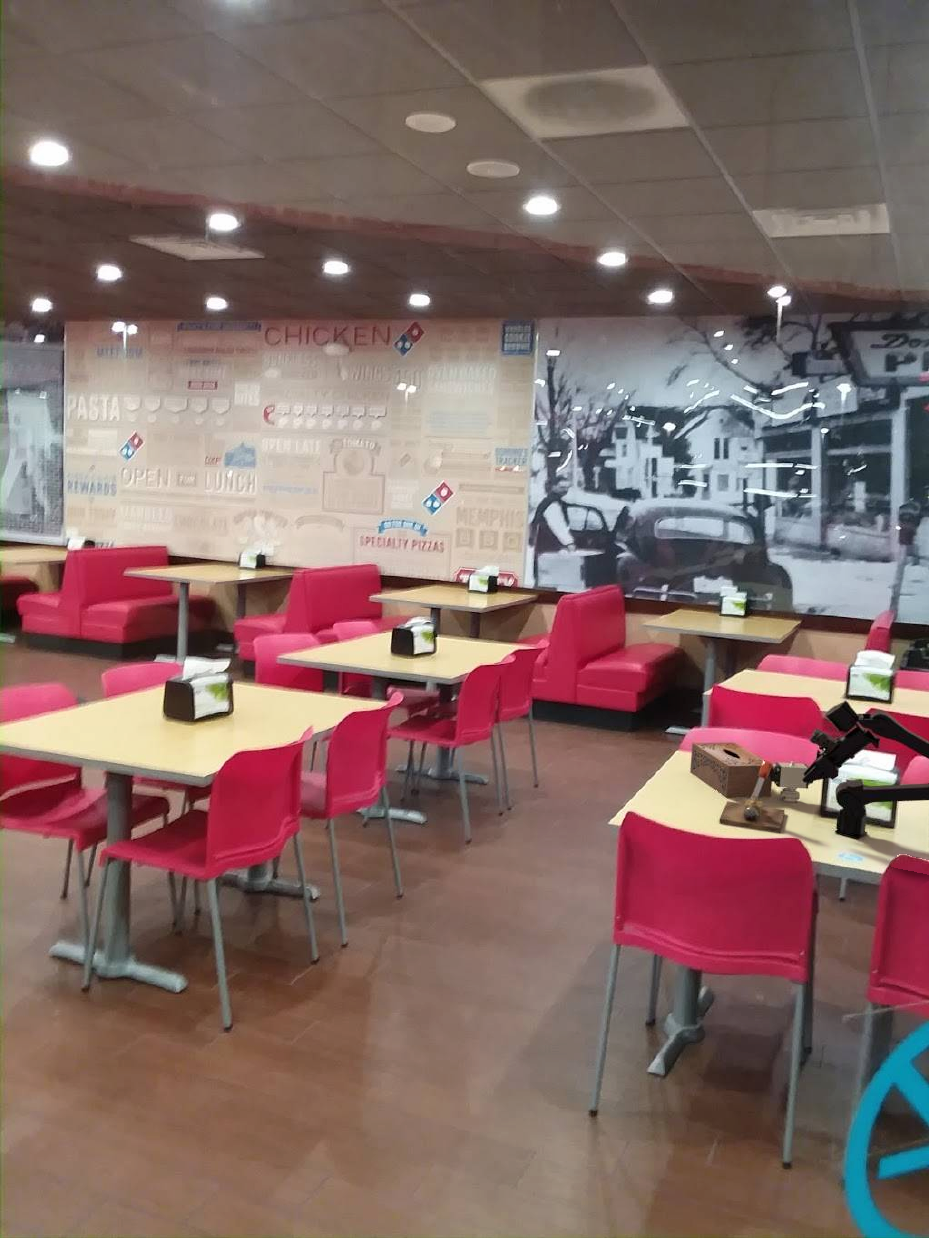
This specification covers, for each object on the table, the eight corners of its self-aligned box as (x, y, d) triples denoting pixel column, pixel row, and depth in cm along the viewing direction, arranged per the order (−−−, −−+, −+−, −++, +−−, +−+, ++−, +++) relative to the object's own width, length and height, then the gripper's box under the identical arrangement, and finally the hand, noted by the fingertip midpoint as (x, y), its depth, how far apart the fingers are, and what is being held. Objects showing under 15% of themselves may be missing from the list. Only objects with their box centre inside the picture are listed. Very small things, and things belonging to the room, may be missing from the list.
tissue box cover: (690, 773, 330) (692, 742, 328) (731, 772, 333) (734, 742, 331) (726, 798, 305) (728, 766, 304) (770, 797, 308) (773, 765, 307)
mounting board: (784, 813, 292) (784, 809, 292) (779, 832, 277) (780, 828, 277) (726, 805, 298) (727, 801, 298) (719, 822, 282) (719, 818, 282)
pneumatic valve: (811, 804, 302) (815, 764, 300) (771, 801, 303) (774, 762, 301) (806, 798, 308) (810, 759, 306) (766, 796, 308) (770, 757, 307)
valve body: (762, 810, 292) (764, 791, 291) (758, 823, 281) (760, 803, 280) (746, 808, 294) (748, 788, 293) (742, 821, 283) (743, 800, 282)
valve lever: (757, 801, 288) (772, 762, 285) (756, 804, 285) (772, 765, 282) (748, 798, 288) (763, 759, 286) (747, 800, 286) (763, 761, 283)
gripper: (831, 714, 285) (786, 747, 291) (829, 728, 268) (781, 763, 273) (858, 745, 284) (813, 778, 289) (858, 762, 266) (809, 796, 272)
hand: (803, 778), depth 281 cm, fingers open, 6 cm apart
